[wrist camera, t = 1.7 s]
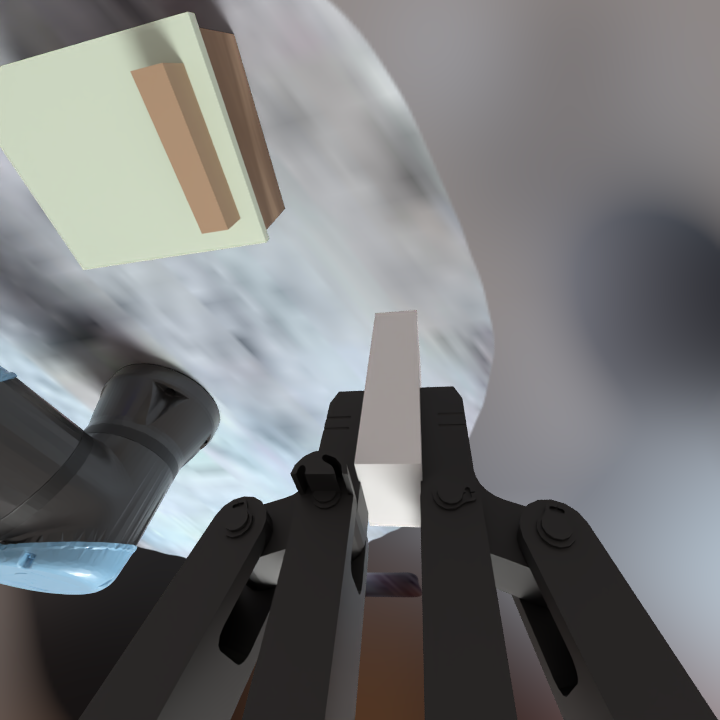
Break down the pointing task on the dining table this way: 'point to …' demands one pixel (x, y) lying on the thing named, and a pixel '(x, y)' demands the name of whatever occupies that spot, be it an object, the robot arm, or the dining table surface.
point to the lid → (130, 146)
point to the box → (244, 121)
